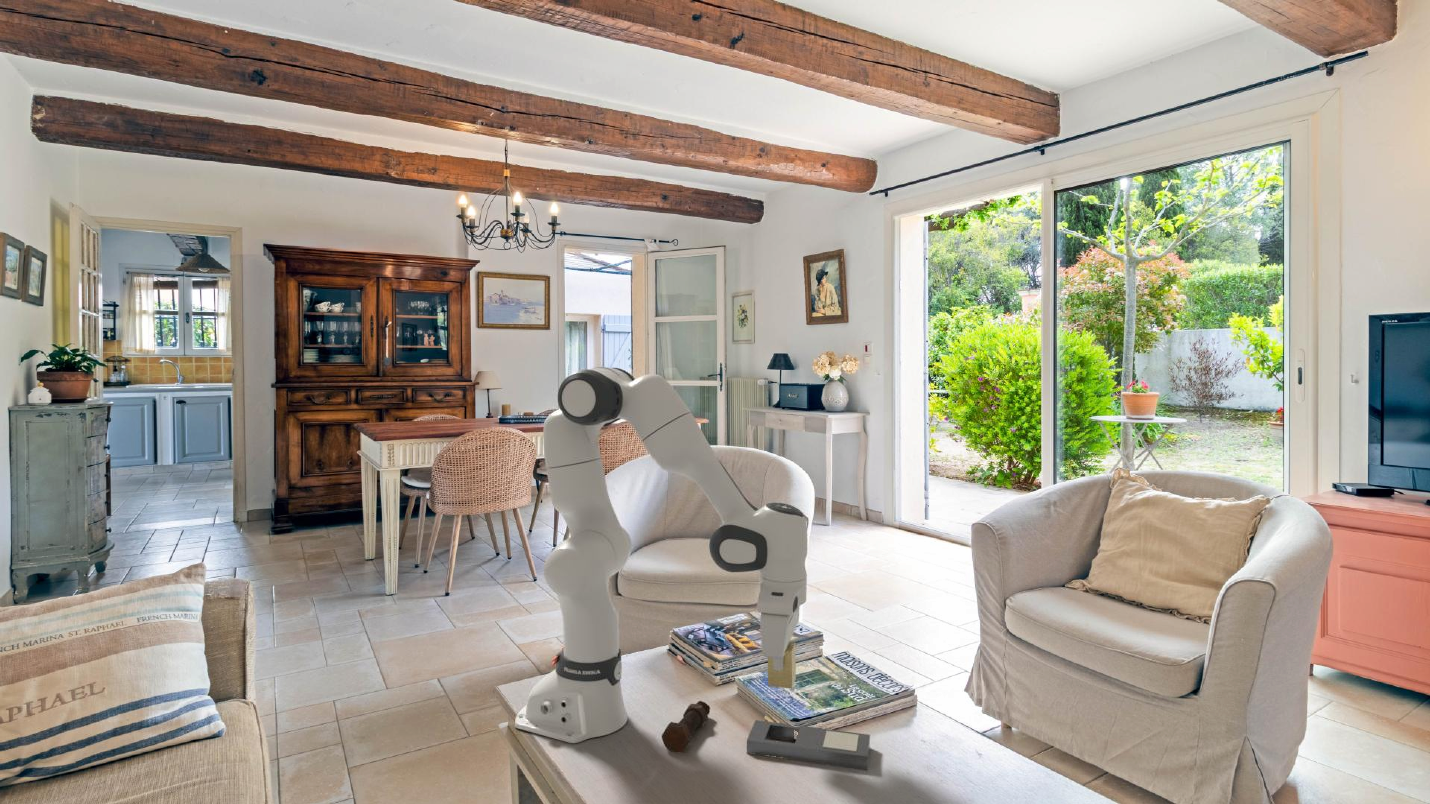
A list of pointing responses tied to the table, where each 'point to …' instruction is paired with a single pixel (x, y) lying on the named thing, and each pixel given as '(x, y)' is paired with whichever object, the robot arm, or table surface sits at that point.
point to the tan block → (784, 669)
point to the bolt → (685, 727)
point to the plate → (810, 744)
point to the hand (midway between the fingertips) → (781, 663)
